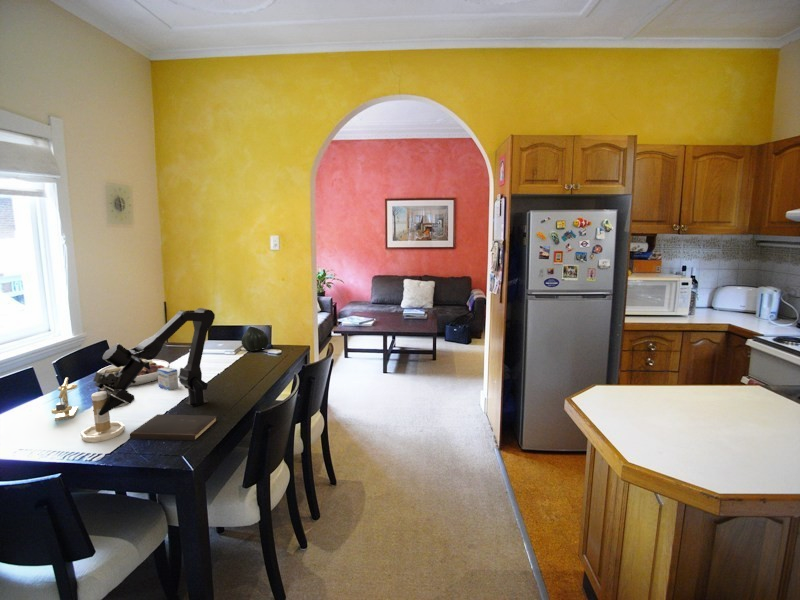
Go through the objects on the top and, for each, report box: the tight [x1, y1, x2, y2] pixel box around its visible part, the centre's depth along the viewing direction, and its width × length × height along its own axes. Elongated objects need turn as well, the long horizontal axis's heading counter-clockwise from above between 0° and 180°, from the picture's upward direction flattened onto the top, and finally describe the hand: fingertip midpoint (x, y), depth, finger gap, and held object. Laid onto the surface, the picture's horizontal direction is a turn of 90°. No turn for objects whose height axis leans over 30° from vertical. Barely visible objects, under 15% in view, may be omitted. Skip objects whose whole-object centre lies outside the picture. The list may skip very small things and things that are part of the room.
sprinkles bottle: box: [90, 391, 111, 432], centre depth 150 cm, size 5×5×14 cm
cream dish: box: [80, 421, 125, 443], centre depth 151 cm, size 12×12×2 cm
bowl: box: [97, 358, 170, 387], centre depth 209 cm, size 30×30×8 cm
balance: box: [51, 377, 79, 422], centre depth 166 cm, size 19×6×13 cm, turn 27°
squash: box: [241, 326, 269, 352], centre depth 258 cm, size 14×15×15 cm
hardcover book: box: [129, 413, 218, 441], centre depth 155 cm, size 16×23×2 cm
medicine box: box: [157, 367, 179, 391], centre depth 196 cm, size 8×4×9 cm, turn 62°
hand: (96, 413), depth 149 cm, fingers closed on sprinkles bottle, 4 cm apart
